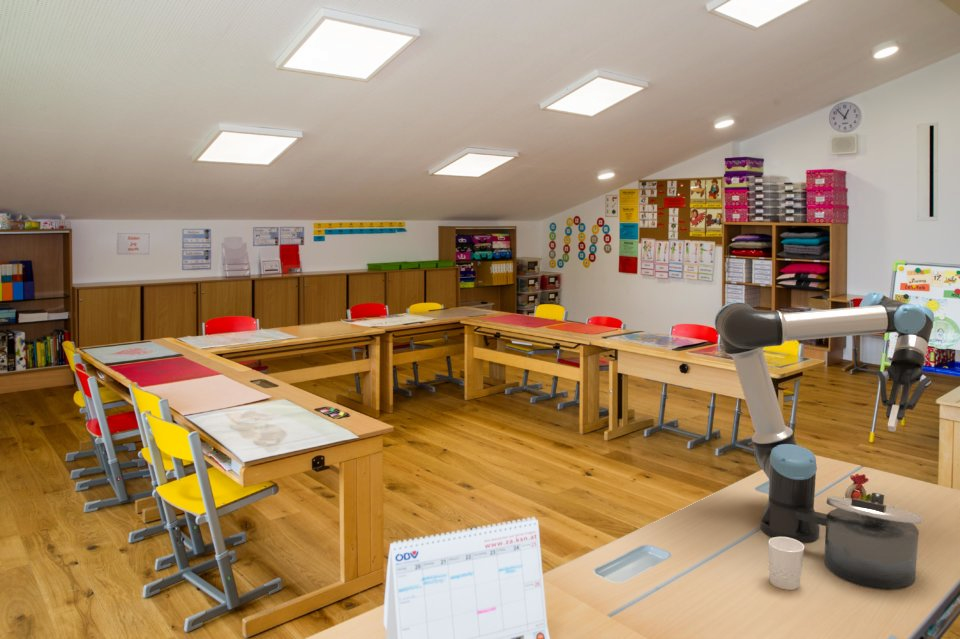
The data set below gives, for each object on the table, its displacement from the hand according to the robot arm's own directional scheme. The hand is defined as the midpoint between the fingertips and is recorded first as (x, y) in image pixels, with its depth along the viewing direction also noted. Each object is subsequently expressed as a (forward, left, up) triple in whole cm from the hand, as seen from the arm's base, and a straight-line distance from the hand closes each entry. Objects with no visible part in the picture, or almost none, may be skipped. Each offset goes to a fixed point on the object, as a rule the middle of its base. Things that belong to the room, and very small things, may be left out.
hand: (891, 428), depth 185 cm
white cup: (-14, -36, -33) cm, 51 cm away
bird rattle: (-11, +22, -33) cm, 41 cm away
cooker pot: (-4, -16, -32) cm, 36 cm away
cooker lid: (0, -16, -18) cm, 24 cm away
